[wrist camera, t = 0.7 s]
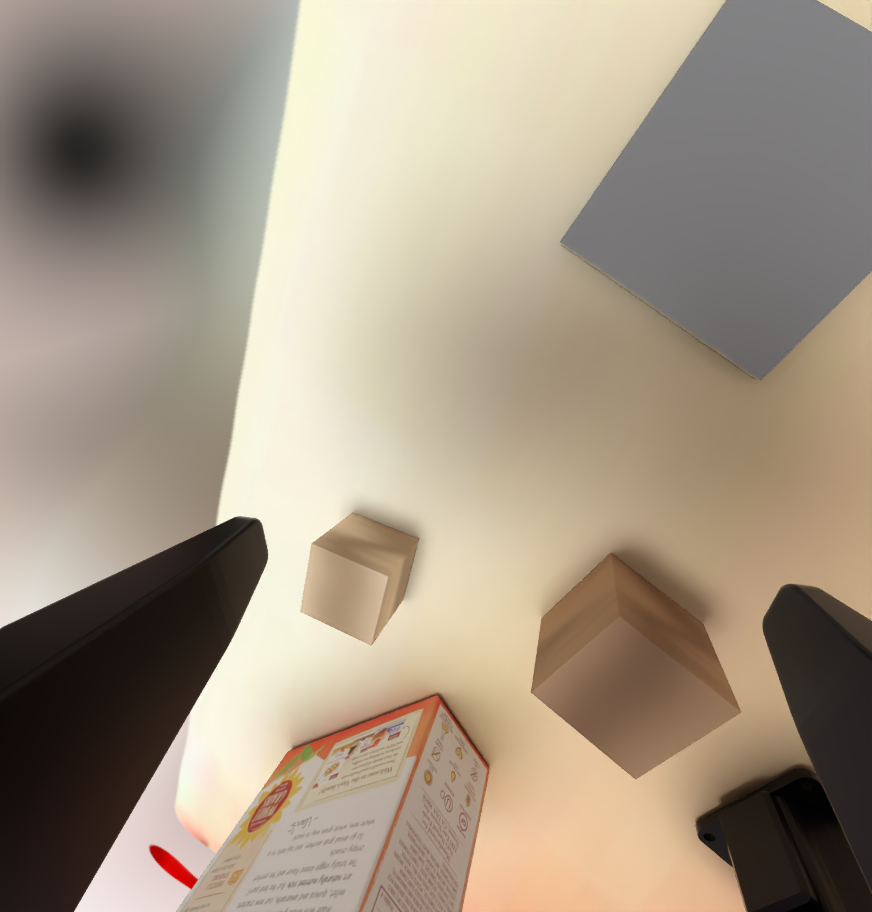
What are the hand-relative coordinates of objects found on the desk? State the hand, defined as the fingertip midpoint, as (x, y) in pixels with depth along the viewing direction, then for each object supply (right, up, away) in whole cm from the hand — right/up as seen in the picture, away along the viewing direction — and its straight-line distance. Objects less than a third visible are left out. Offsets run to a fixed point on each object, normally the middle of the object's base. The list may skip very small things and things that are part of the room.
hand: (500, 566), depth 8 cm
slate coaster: (+10, +11, +7) cm, 16 cm away
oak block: (-4, -4, +16) cm, 17 cm away
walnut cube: (+7, -6, +13) cm, 16 cm away
